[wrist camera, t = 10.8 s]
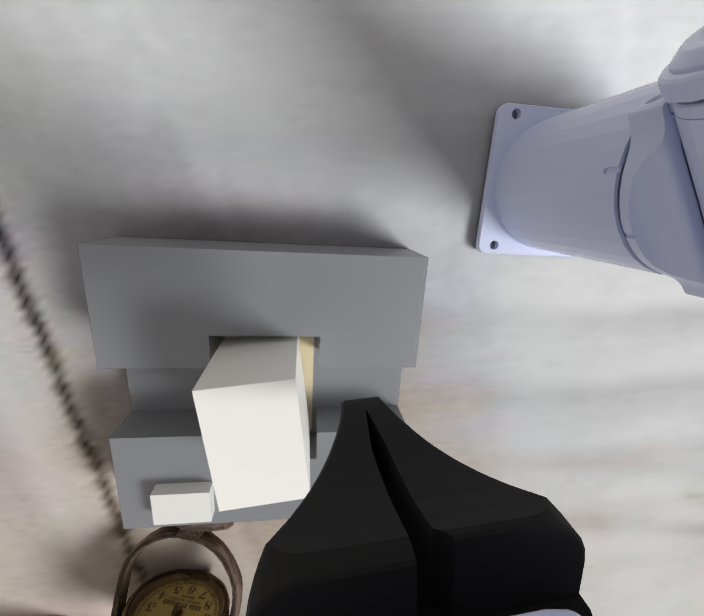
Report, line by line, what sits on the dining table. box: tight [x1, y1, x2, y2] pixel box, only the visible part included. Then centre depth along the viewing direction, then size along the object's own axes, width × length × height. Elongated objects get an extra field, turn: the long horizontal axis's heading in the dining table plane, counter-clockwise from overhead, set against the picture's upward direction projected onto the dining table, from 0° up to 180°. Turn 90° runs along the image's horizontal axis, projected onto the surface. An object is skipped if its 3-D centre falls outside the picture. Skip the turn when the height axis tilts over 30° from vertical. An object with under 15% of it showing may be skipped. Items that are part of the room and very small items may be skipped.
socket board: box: [77, 237, 428, 529], centre depth 20 cm, size 16×16×4 cm
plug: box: [192, 336, 310, 512], centre depth 18 cm, size 4×6×6 cm, turn 4°
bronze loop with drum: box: [111, 522, 243, 616], centre depth 22 cm, size 7×13×10 cm
